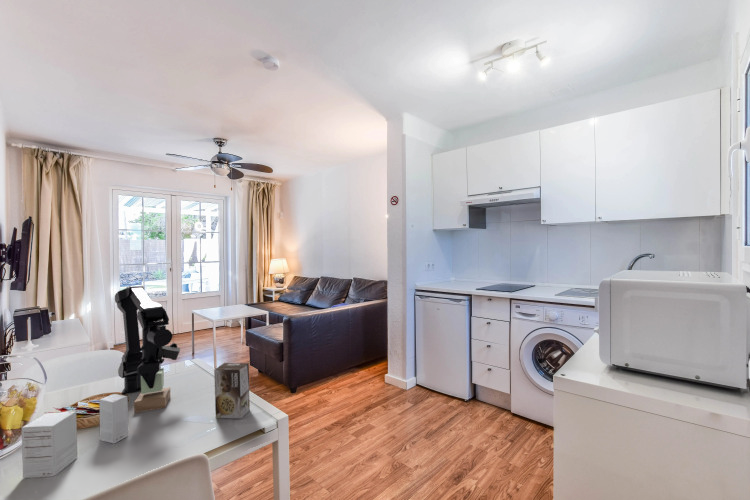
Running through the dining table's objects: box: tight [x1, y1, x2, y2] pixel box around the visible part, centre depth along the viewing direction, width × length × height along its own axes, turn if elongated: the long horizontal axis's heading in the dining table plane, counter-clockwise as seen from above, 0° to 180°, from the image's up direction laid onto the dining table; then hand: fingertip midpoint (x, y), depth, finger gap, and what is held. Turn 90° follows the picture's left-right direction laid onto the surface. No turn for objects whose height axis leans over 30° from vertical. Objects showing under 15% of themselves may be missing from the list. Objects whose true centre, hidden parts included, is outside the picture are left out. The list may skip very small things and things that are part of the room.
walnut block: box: [133, 386, 171, 414], centre depth 118 cm, size 9×9×4 cm
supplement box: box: [21, 411, 78, 479], centre depth 84 cm, size 7×7×13 cm
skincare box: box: [99, 393, 129, 444], centre depth 97 cm, size 6×4×12 cm
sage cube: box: [140, 367, 165, 394], centre depth 118 cm, size 6×6×6 cm
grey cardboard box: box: [213, 362, 251, 420], centre depth 110 cm, size 9×6×16 cm
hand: (152, 384), depth 118 cm, fingers closed on sage cube, 6 cm apart
